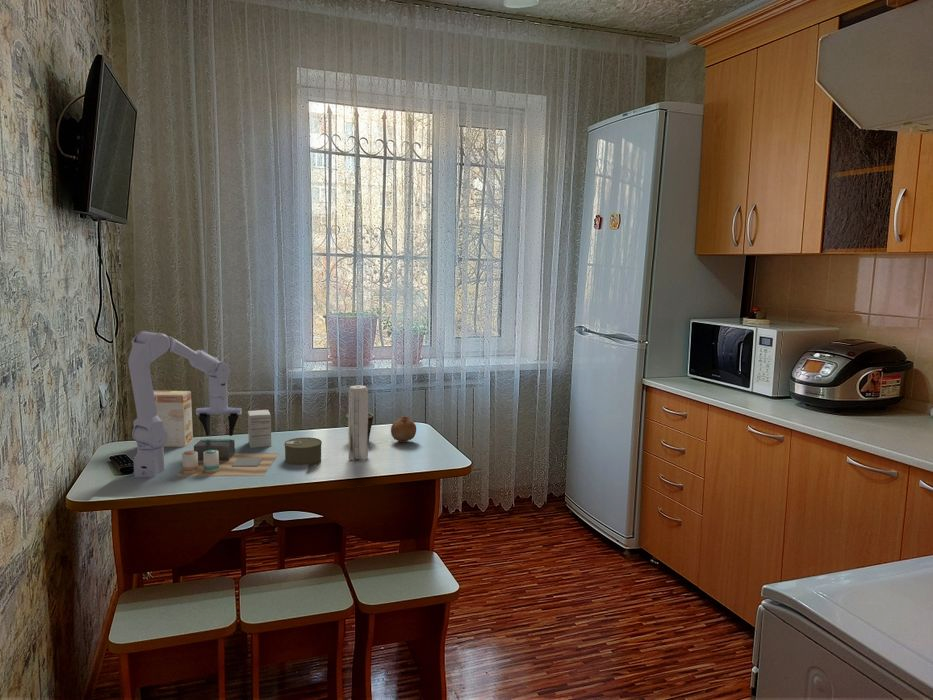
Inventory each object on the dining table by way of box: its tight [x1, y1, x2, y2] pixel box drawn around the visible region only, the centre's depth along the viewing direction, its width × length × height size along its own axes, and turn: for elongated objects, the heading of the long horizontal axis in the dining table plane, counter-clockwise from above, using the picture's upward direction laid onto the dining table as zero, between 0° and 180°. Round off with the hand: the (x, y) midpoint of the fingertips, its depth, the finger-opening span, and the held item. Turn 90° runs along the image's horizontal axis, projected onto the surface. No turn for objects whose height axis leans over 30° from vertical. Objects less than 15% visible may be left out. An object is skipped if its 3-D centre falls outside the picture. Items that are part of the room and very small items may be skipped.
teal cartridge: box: [203, 450, 219, 473], centre depth 200 cm, size 4×4×6 cm
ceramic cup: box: [345, 412, 374, 443], centre depth 237 cm, size 13×10×10 cm
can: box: [283, 437, 323, 468], centre depth 213 cm, size 12×12×7 cm
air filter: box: [347, 385, 369, 462], centre depth 217 cm, size 6×6×25 cm
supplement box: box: [247, 409, 272, 449], centre depth 228 cm, size 7×7×13 cm
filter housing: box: [193, 438, 236, 461], centre depth 213 cm, size 7×11×5 cm
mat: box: [232, 458, 263, 466], centre depth 209 cm, size 8×8×1 cm
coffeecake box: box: [153, 389, 194, 448], centre depth 226 cm, size 15×7×20 cm, turn 89°
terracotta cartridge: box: [181, 450, 198, 474], centre depth 198 cm, size 4×4×6 cm
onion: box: [390, 415, 417, 443], centre depth 238 cm, size 10×9×10 cm
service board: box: [176, 452, 280, 477], centre depth 207 cm, size 23×26×1 cm
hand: (219, 435), depth 218 cm, fingers open, 7 cm apart
